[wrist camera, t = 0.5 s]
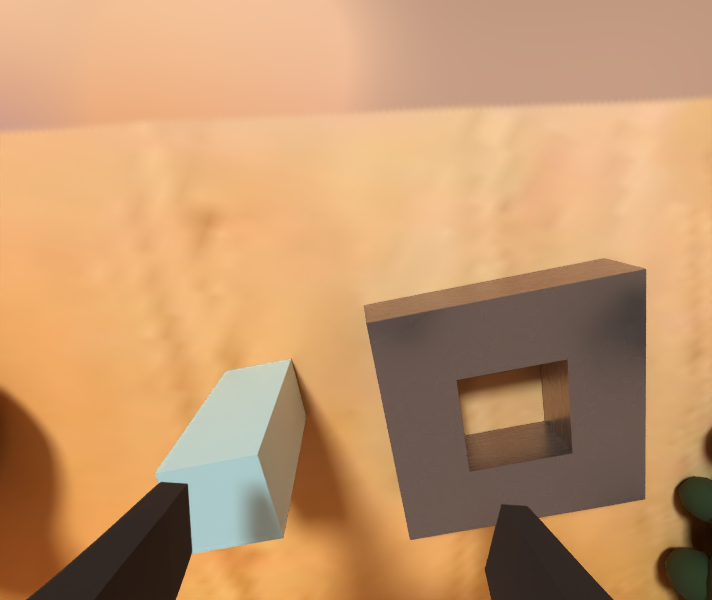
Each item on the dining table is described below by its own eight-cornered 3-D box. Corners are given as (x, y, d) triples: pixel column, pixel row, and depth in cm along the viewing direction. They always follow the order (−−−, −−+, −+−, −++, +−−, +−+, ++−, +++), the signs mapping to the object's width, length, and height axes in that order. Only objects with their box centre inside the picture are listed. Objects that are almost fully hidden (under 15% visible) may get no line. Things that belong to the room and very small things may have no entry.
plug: (244, 428, 19) (187, 554, 12) (226, 371, 18) (154, 473, 12) (306, 416, 19) (283, 537, 12) (291, 358, 18) (257, 454, 12)
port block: (403, 499, 21) (410, 539, 18) (364, 305, 18) (366, 322, 15) (609, 462, 20) (645, 499, 18) (604, 258, 17) (646, 268, 15)
